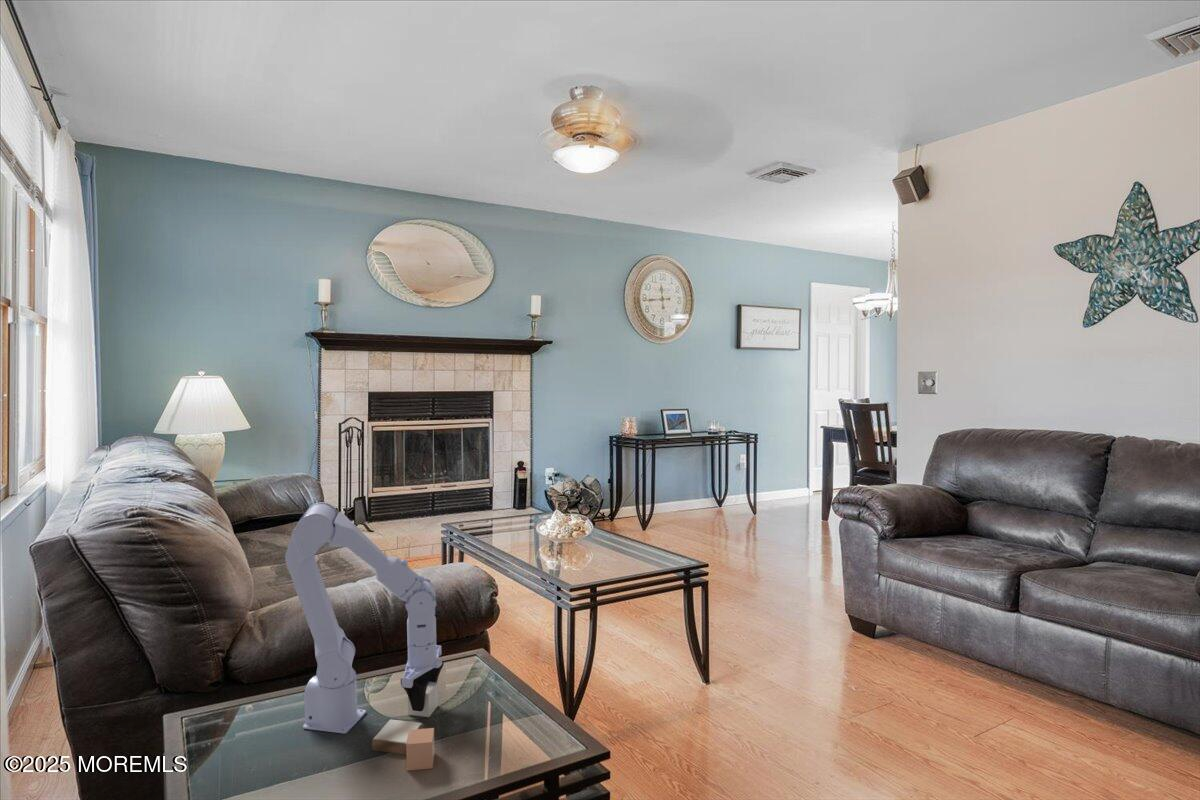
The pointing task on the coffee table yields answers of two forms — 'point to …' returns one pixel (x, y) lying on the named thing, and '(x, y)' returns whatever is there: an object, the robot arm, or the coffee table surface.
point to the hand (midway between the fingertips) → (423, 703)
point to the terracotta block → (420, 749)
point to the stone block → (427, 701)
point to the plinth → (394, 736)
